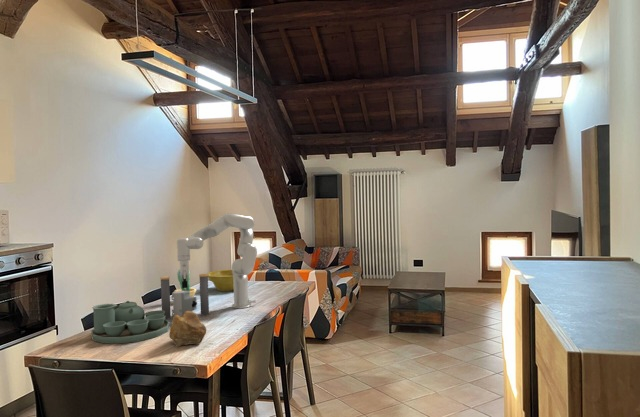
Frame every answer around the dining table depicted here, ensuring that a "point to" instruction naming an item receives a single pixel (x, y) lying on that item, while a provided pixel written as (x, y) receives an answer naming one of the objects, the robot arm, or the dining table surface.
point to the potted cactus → (192, 291)
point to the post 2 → (204, 294)
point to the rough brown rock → (187, 329)
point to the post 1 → (165, 296)
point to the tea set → (126, 323)
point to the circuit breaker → (183, 303)
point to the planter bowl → (222, 279)
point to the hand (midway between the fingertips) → (184, 287)
